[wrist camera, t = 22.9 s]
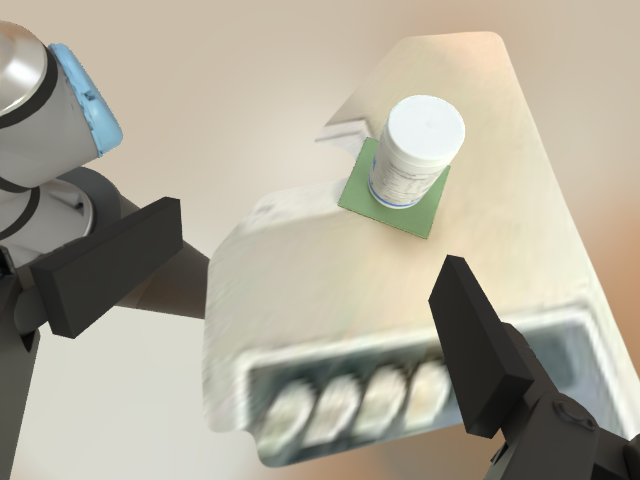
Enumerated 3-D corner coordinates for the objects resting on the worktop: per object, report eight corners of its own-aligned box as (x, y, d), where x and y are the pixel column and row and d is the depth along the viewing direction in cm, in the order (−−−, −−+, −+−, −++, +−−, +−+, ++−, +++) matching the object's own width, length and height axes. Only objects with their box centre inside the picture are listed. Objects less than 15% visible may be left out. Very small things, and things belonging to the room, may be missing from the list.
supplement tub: (374, 153, 51) (395, 83, 37) (429, 167, 50) (472, 102, 36) (360, 202, 48) (378, 147, 34) (418, 218, 47) (461, 168, 33)
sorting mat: (337, 205, 48) (337, 204, 48) (366, 138, 52) (367, 136, 52) (426, 239, 46) (427, 238, 46) (449, 167, 51) (450, 166, 50)
